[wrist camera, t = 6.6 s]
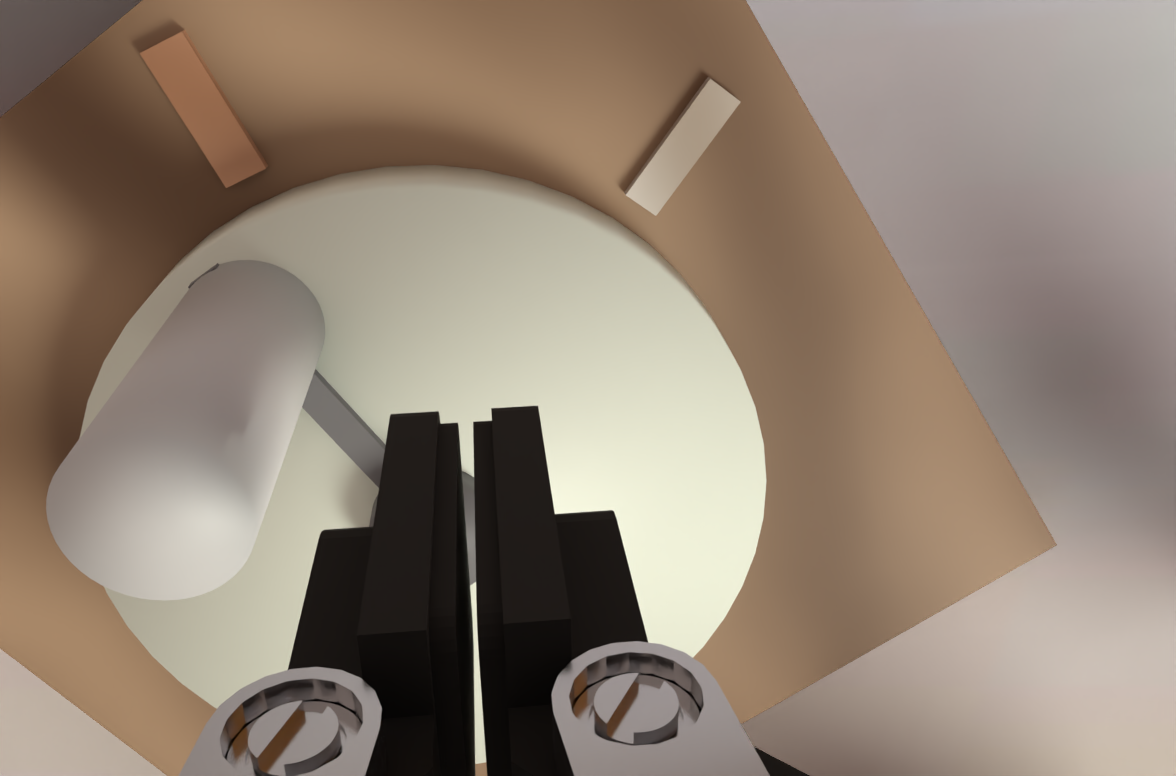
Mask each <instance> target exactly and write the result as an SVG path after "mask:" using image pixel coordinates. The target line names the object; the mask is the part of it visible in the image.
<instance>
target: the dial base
mask: <svg viewBox="0 0 1176 776" xmlns="http://www.w3.org/2000/svg"><path fill="white" fill-rule="evenodd" d="M418 165H440V166H450V167H460V168H471V169H481V170H486V171H491V172H495V173H499V174H504V175H508V176H512V177H517V178H521V179H525V180H529V181H532V182H535V183H537V184H540V185H543V186H546V187H548V188H551V189H554V190H556V191H559V192H562V193H564V194H567V195H570V196H572V197H574V198H576V199H578V200H580V201H582V202H584V203H586V204H588V205H589V206H591V207H593V208H595V209H597V210H599V211H601V212H603V213H605V214H606V215H608V216H610V217H612V218H614V219H615V220H616V221H618V222H619V223H621V224H622V225H623V226H625V227H626V228H628V229H629V230H630V231H632V232H633V233H635V234H636V235H637V236H639V237H640V238H642V239H643V240H644V241H646V242H647V243H648V244H649V245H651V246H652V247H653V248H654V249H655V250H656V251H657V252H658V253H659V254H660V255H661V256H662V257H663V258H664V259H665V260H666V261H667V262H668V263H670V264H671V265H672V266H673V267H674V268H675V269H676V270H677V271H678V272H679V273H680V274H681V276H682V277H683V278H684V280H685V281H686V282H687V283H688V285H689V286H690V287H691V288H692V290H693V291H694V292H695V293H696V295H697V296H698V297H699V298H700V300H701V301H702V302H703V303H704V305H705V307H706V308H707V310H708V312H709V314H710V315H711V317H712V319H713V320H714V322H715V324H716V326H717V327H718V329H719V331H720V333H721V334H722V336H723V338H724V340H725V341H726V343H727V345H728V347H729V349H730V351H731V353H732V354H733V356H734V358H735V360H736V362H737V364H738V366H739V368H740V369H741V372H742V374H743V377H744V379H745V382H746V384H747V387H748V389H749V392H750V395H751V397H752V400H753V402H754V405H755V407H756V412H757V416H758V421H759V425H760V430H761V434H762V438H763V443H764V454H765V468H766V493H765V506H764V518H763V522H762V526H761V531H760V535H759V539H758V544H757V548H756V552H755V555H754V558H753V560H752V563H751V565H750V568H749V571H748V573H747V576H746V578H745V581H744V583H743V586H742V588H741V590H740V591H739V593H738V595H737V597H736V599H735V600H734V602H733V604H732V606H731V608H730V609H729V611H728V613H727V615H726V617H725V618H724V620H723V621H722V622H721V624H720V625H719V626H718V628H717V629H716V630H715V632H714V633H713V634H712V636H711V637H710V638H709V640H708V641H707V642H706V644H705V645H704V647H703V648H702V649H701V650H700V651H699V652H698V653H697V654H696V655H695V656H694V657H693V658H694V659H695V660H697V661H698V662H700V663H702V664H703V665H704V666H705V667H706V669H707V670H708V671H709V672H710V673H711V675H712V676H713V677H714V678H715V679H716V681H717V683H718V684H719V686H720V688H721V690H722V691H723V693H724V695H725V697H726V699H727V700H728V702H729V704H730V706H731V707H732V709H733V711H734V713H735V715H736V716H737V718H738V720H739V722H740V723H741V724H742V723H744V722H746V721H748V720H749V719H751V718H753V717H755V716H756V715H758V714H760V713H762V712H764V711H765V710H767V709H769V708H771V707H772V706H774V705H776V704H778V703H779V702H781V701H783V700H785V699H786V698H788V697H790V696H792V695H793V694H795V693H797V692H799V691H801V690H802V689H804V688H806V687H808V686H809V685H811V684H813V683H815V682H816V681H818V680H820V679H822V678H823V677H825V676H827V675H829V674H830V673H832V672H834V671H836V670H838V669H839V668H841V667H843V666H845V665H846V664H848V663H850V662H852V661H853V660H855V659H857V658H859V657H860V656H862V655H864V654H866V653H867V652H869V651H871V650H873V649H875V648H876V647H878V646H880V645H882V644H883V643H885V642H887V641H889V640H890V639H892V638H894V637H896V636H897V635H899V634H901V633H903V632H905V631H906V630H908V629H910V628H912V627H913V626H915V625H917V624H919V623H920V622H922V621H924V620H926V619H927V618H929V617H931V616H933V615H934V614H936V613H938V612H940V611H942V610H943V609H945V608H947V607H949V606H950V605H952V604H954V603H956V602H957V601H959V600H961V599H963V598H964V597H966V596H968V595H970V594H971V593H973V592H975V591H977V590H979V589H980V588H982V587H984V586H986V585H987V584H989V583H991V582H993V581H994V580H996V579H998V578H1000V577H1001V576H1003V575H1005V574H1007V573H1008V572H1010V571H1012V570H1014V569H1016V568H1017V567H1019V566H1021V565H1023V564H1024V563H1026V562H1028V561H1030V560H1031V559H1033V558H1035V557H1037V556H1038V555H1040V554H1042V553H1044V552H1045V551H1047V550H1049V549H1051V548H1053V547H1054V546H1056V545H1057V544H1056V543H1055V541H1054V539H1053V537H1052V536H1051V534H1050V532H1049V530H1048V529H1047V527H1046V525H1045V523H1044V522H1043V520H1042V518H1041V516H1040V515H1039V513H1038V511H1037V509H1036V508H1035V506H1034V504H1033V502H1032V501H1031V499H1030V497H1029V495H1028V494H1027V492H1026V490H1025V488H1024V487H1023V485H1022V483H1021V481H1020V480H1019V478H1018V476H1017V474H1016V473H1015V471H1014V469H1013V467H1012V466H1011V464H1010V462H1009V460H1008V459H1007V457H1006V455H1005V453H1004V452H1003V450H1002V448H1001V446H1000V445H999V443H998V441H997V439H996V438H995V436H994V434H993V432H992V431H991V429H990V427H989V425H988V424H987V422H986V420H985V418H984V417H983V415H982V413H981V411H980V410H979V408H978V406H977V404H976V403H975V401H974V399H973V397H972V396H971V394H970V392H969V390H968V389H967V387H966V385H965V383H964V382H963V380H962V378H961V376H960V375H959V373H958V371H957V369H956V368H955V366H954V364H953V362H952V361H951V359H950V357H949V355H948V354H947V352H946V350H945V348H944V347H943V345H942V343H941V341H940V340H939V338H938V336H937V334H936V333H935V331H934V329H933V327H932V326H931V324H930V322H929V320H928V319H927V317H926V315H925V313H924V312H923V310H922V308H921V306H920V305H919V303H918V301H917V299H916V298H915V296H914V294H913V292H912V291H911V289H910V287H909V285H908V284H907V282H906V280H905V278H904V277H903V275H902V273H901V271H900V270H899V268H898V266H897V264H896V263H895V261H894V259H893V257H892V256H891V254H890V252H889V250H888V249H887V247H886V245H885V243H884V242H883V240H882V238H881V236H880V235H879V233H878V231H877V229H876V228H875V226H874V224H873V222H872V221H871V219H870V217H869V215H868V214H867V212H866V210H865V208H864V207H863V205H862V203H861V201H860V200H859V198H858V196H857V194H856V193H855V191H854V189H853V187H852V186H851V184H850V182H849V180H848V179H847V177H846V175H845V173H844V172H843V170H842V168H841V166H840V165H839V163H838V161H837V159H836V158H835V156H834V154H833V152H832V151H831V149H830V147H829V145H828V144H827V142H826V140H825V138H824V137H823V135H822V133H821V131H820V130H819V128H818V126H817V124H816V123H815V121H814V119H813V117H812V116H811V114H810V112H809V110H808V109H807V107H806V105H805V103H804V102H803V100H802V98H801V96H800V95H799V93H798V91H797V89H796V88H795V86H794V84H793V82H792V81H791V79H790V77H789V75H788V74H787V72H786V70H785V68H784V67H783V65H782V63H781V61H780V60H779V58H778V56H777V54H776V53H775V51H774V49H773V47H772V46H771V44H770V42H769V40H768V39H767V37H766V35H765V33H764V32H763V30H762V28H761V26H760V25H759V23H758V21H757V19H756V18H755V16H754V14H753V12H752V11H751V9H750V7H749V5H748V4H747V2H746V0H142V1H141V2H140V3H139V4H137V5H136V6H135V7H134V8H132V9H131V10H130V11H129V12H128V13H126V14H125V15H124V16H123V17H122V18H120V19H119V20H118V21H117V22H115V23H114V24H113V25H112V26H111V27H109V28H108V29H107V30H106V31H105V32H103V33H102V34H101V35H100V36H98V37H97V38H96V39H95V40H94V41H92V42H91V43H90V44H89V45H88V46H86V47H85V48H84V49H83V50H81V51H80V52H79V53H78V54H77V55H75V56H74V57H73V58H72V59H71V60H69V61H68V62H67V63H66V64H64V65H63V66H62V67H61V68H60V69H58V70H57V71H56V72H55V73H54V74H52V75H51V76H50V77H49V78H47V79H46V80H45V81H44V82H43V83H41V84H40V85H39V86H38V87H37V88H35V89H34V90H33V91H32V92H30V93H29V94H28V95H27V96H26V97H24V98H23V99H22V100H21V101H20V102H18V103H17V104H16V105H15V106H13V107H12V108H11V109H10V110H9V111H7V112H6V113H5V114H4V115H3V116H1V117H0V649H2V650H3V651H4V652H6V653H7V654H8V655H10V656H11V657H12V658H14V659H15V660H16V661H17V662H19V663H20V664H21V665H23V666H24V667H25V668H27V669H28V670H29V671H31V672H32V673H33V674H35V675H36V676H37V677H38V678H40V679H41V680H42V681H44V682H45V683H46V684H48V685H49V686H50V687H52V688H53V689H54V690H56V691H57V692H58V693H59V694H61V695H62V696H63V697H65V698H66V699H67V700H69V701H70V702H71V703H73V704H74V705H75V706H77V707H78V708H79V709H80V710H82V711H83V712H84V713H86V714H87V715H88V716H90V717H91V718H92V719H94V720H95V721H96V722H98V723H99V724H100V725H101V726H103V727H104V728H105V729H107V730H108V731H109V732H111V733H112V734H113V735H115V736H116V737H117V738H119V739H120V740H121V741H122V742H124V743H125V744H126V745H128V746H129V747H130V748H132V749H133V750H134V751H136V752H137V753H138V754H140V755H141V756H142V757H143V758H145V759H146V760H147V761H149V762H150V763H151V764H153V765H154V766H155V767H157V768H158V769H159V770H161V771H162V772H163V773H164V774H166V775H167V776H179V774H180V772H181V770H182V768H183V766H184V764H185V763H186V761H187V759H188V757H189V755H190V753H191V751H192V749H193V747H194V746H195V744H196V742H197V740H198V738H199V736H200V734H201V732H202V730H203V729H204V727H205V725H206V723H207V722H208V721H209V719H210V718H211V717H212V715H213V714H214V713H215V711H216V710H217V708H215V707H213V706H212V705H210V704H209V703H208V702H206V701H205V700H203V699H202V698H201V697H199V696H198V695H197V694H195V693H194V692H192V691H191V690H190V689H188V688H187V687H186V686H184V685H183V684H182V683H180V682H179V681H178V680H177V679H176V678H175V677H174V676H173V675H172V674H171V673H170V672H169V671H168V670H166V669H165V668H164V667H163V666H162V665H161V664H160V663H159V662H158V661H157V660H156V659H155V658H154V657H153V656H152V655H151V654H150V653H149V652H148V650H147V649H146V648H145V647H144V646H143V644H142V643H141V642H140V641H139V640H138V638H137V637H136V636H135V635H134V634H133V632H132V631H131V630H130V629H129V628H128V626H127V625H126V623H125V622H124V620H123V618H122V617H121V615H120V614H119V612H118V610H117V609H116V607H115V606H114V604H113V602H112V601H111V599H110V598H109V596H108V594H107V593H106V590H105V588H104V586H102V585H100V584H99V583H97V582H95V581H94V580H92V579H90V578H89V577H88V576H86V575H85V574H84V573H82V572H81V571H80V570H78V569H77V568H76V567H75V566H74V565H73V564H72V563H71V562H70V561H69V560H68V558H67V557H66V556H65V555H64V554H63V552H62V551H61V549H60V548H59V546H58V545H57V543H56V541H55V539H54V537H53V535H52V533H51V530H50V527H49V523H48V520H47V512H46V499H47V493H48V489H49V485H50V483H51V480H52V478H53V476H54V474H55V472H56V471H57V469H58V468H59V466H60V465H61V463H62V462H63V461H64V459H65V458H66V456H67V455H68V454H69V452H70V451H71V450H72V448H73V447H74V446H75V444H76V443H77V441H78V440H79V438H80V434H81V429H82V425H83V420H84V416H85V411H86V407H87V402H88V399H89V397H90V394H91V392H92V389H93V387H94V384H95V382H96V379H97V377H98V374H99V372H100V369H101V367H102V365H103V362H104V360H105V359H106V357H107V355H108V354H109V352H110V351H111V349H112V347H113V346H114V344H115V342H116V341H117V339H118V337H119V336H120V334H121V332H122V331H123V329H124V328H125V326H126V324H127V323H128V322H129V321H130V319H131V318H132V317H133V316H134V315H135V313H136V312H137V311H138V310H139V308H140V307H141V306H142V305H143V304H144V302H145V301H146V300H147V299H148V297H149V296H150V295H151V294H152V293H153V291H154V290H155V289H156V288H157V287H158V285H159V284H160V283H161V282H162V281H163V280H164V278H165V277H166V276H167V275H168V274H169V272H170V271H171V270H172V269H173V268H174V267H175V265H176V264H177V263H178V262H179V261H180V260H181V259H182V258H183V257H184V256H186V255H187V254H188V253H189V252H190V251H191V250H192V249H194V248H195V247H196V246H197V245H198V244H199V243H200V242H202V241H203V240H204V239H205V238H206V237H207V236H209V235H210V234H211V233H212V232H213V231H215V230H216V229H218V228H220V227H221V226H223V225H224V224H226V223H227V222H229V221H230V220H232V219H234V218H235V217H237V216H238V215H240V214H241V213H243V212H244V211H246V210H248V209H249V208H251V207H253V206H255V205H257V204H259V203H262V202H264V201H266V200H268V199H270V198H272V197H275V196H277V195H279V194H281V193H283V192H286V191H288V190H290V189H292V188H295V187H298V186H301V185H305V184H308V183H311V182H315V181H318V180H321V179H325V178H328V177H331V176H335V175H338V174H343V173H349V172H355V171H362V170H368V169H374V168H380V167H386V166H418ZM475 776H487V766H486V762H485V763H479V764H475Z"/></svg>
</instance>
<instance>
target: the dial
mask: <svg viewBox="0 0 1176 776" xmlns="http://www.w3.org/2000/svg"><path fill="white" fill-rule="evenodd" d="M522 406H538V408H539V415H540V421H541V428H542V434H543V441H544V447H545V454H546V460H547V467H548V473H549V480H550V486H551V493H552V499H553V506H554V512H555V514H563V513H577V512H592V511H607V510H613V511H614V513H615V516H616V518H617V522H618V526H619V530H620V534H621V538H622V542H623V546H624V550H625V554H626V557H627V561H628V565H629V569H630V573H631V577H632V581H633V585H634V589H635V592H636V596H637V600H638V604H639V608H640V612H641V616H642V620H643V624H644V628H645V631H646V635H647V639H648V643H656V644H662V645H665V646H668V647H671V648H674V649H677V650H679V651H682V652H685V653H686V654H688V655H689V656H691V657H692V658H693V657H694V656H695V655H696V654H697V653H698V652H699V651H700V650H701V649H702V648H703V647H704V645H705V644H706V642H707V641H708V640H709V638H710V637H711V636H712V634H713V633H714V632H715V630H716V629H717V628H718V626H719V625H720V624H721V622H722V621H723V620H724V618H725V617H726V615H727V613H728V611H729V609H730V608H731V606H732V604H733V602H734V600H735V599H736V597H737V595H738V593H739V591H740V590H741V588H742V586H743V583H744V581H745V578H746V576H747V573H748V571H749V568H750V565H751V563H752V560H753V558H754V555H755V552H756V548H757V544H758V539H759V535H760V531H761V526H762V522H763V518H764V506H765V493H766V468H765V454H764V443H763V438H762V434H761V430H760V425H759V421H758V416H757V412H756V407H755V405H754V402H753V400H752V397H751V395H750V392H749V389H748V387H747V384H746V382H745V379H744V377H743V374H742V372H741V369H740V368H739V366H738V364H737V362H736V360H735V358H734V356H733V354H732V353H731V351H730V349H729V347H728V345H727V343H726V341H725V340H724V338H723V336H722V334H721V333H720V331H719V329H718V327H717V326H716V324H715V322H714V320H713V319H712V317H711V315H710V314H709V312H708V310H707V308H706V307H705V305H704V303H703V302H702V301H701V300H700V298H699V297H698V296H697V295H696V293H695V292H694V291H693V290H692V288H691V287H690V286H689V285H688V283H687V282H686V281H685V280H684V278H683V277H682V276H681V274H680V273H679V272H678V271H677V270H676V269H675V268H674V267H673V266H672V265H671V264H670V263H668V262H667V261H666V260H665V259H664V258H663V257H662V256H661V255H660V254H659V253H658V252H657V251H656V250H655V249H654V248H653V247H652V246H651V245H649V244H648V243H647V242H646V241H644V240H643V239H642V238H640V237H639V236H637V235H636V234H635V233H633V232H632V231H630V230H629V229H628V228H626V227H625V226H623V225H622V224H621V223H619V222H618V221H616V220H615V219H614V218H612V217H610V216H608V215H606V214H605V213H603V212H601V211H599V210H597V209H595V208H593V207H591V206H589V205H588V204H586V203H584V202H582V201H580V200H578V199H576V198H574V197H572V196H570V195H567V194H564V193H562V192H559V191H556V190H554V189H551V188H548V187H546V186H543V185H540V184H537V183H535V182H532V181H529V180H525V179H521V178H517V177H512V176H508V175H504V174H499V173H495V172H491V171H486V170H481V169H471V168H460V167H450V166H440V165H418V166H386V167H380V168H374V169H368V170H362V171H355V172H349V173H343V174H338V175H335V176H331V177H328V178H325V179H321V180H318V181H315V182H311V183H308V184H305V185H301V186H298V187H295V188H292V189H290V190H288V191H286V192H283V193H281V194H279V195H277V196H275V197H272V198H270V199H268V200H266V201H264V202H262V203H259V204H257V205H255V206H253V207H251V208H249V209H248V210H246V211H244V212H243V213H241V214H240V215H238V216H237V217H235V218H234V219H232V220H230V221H229V222H227V223H226V224H224V225H223V226H221V227H220V228H218V229H216V230H215V231H213V232H212V233H211V234H210V235H209V236H207V237H206V238H205V239H204V240H203V241H202V242H200V243H199V244H198V245H197V246H196V247H195V248H194V249H192V250H191V251H190V252H189V253H188V254H187V255H186V256H184V257H183V258H182V259H181V260H180V261H179V262H178V263H177V264H176V265H175V267H174V268H173V269H172V270H171V271H170V272H169V274H168V275H167V276H166V277H165V278H164V280H163V281H162V282H161V283H160V284H159V285H158V287H157V288H156V289H155V290H154V291H153V293H152V294H151V295H150V296H149V297H148V299H147V300H146V301H145V302H144V304H143V305H142V306H141V307H140V308H139V310H138V311H137V312H136V313H135V315H134V316H133V317H132V318H131V319H130V321H129V322H128V323H127V324H126V326H125V328H124V329H123V331H122V332H121V334H120V336H119V337H118V339H117V341H116V342H115V344H114V346H113V347H112V349H111V351H110V352H109V354H108V355H107V357H106V359H105V360H104V362H103V365H102V367H101V369H100V372H99V374H98V377H97V379H96V382H95V384H94V387H93V389H92V392H91V394H90V397H89V399H88V402H87V407H86V411H85V416H84V420H83V425H82V429H81V434H80V438H79V440H78V441H77V443H76V444H75V446H74V447H73V448H72V450H71V451H70V452H69V454H68V455H67V456H66V458H65V459H64V461H63V462H62V463H61V465H60V466H59V468H58V469H57V471H56V472H55V474H54V476H53V478H52V480H51V483H50V485H49V489H48V493H47V499H46V512H47V520H48V523H49V527H50V530H51V533H52V535H53V537H54V539H55V541H56V543H57V545H58V546H59V548H60V549H61V551H62V552H63V554H64V555H65V556H66V557H67V558H68V560H69V561H70V562H71V563H72V564H73V565H74V566H75V567H76V568H77V569H78V570H80V571H81V572H82V573H84V574H85V575H86V576H88V577H89V578H90V579H92V580H94V581H95V582H97V583H99V584H100V585H102V586H104V588H105V590H106V593H107V594H108V596H109V598H110V599H111V601H112V602H113V604H114V606H115V607H116V609H117V610H118V612H119V614H120V615H121V617H122V618H123V620H124V622H125V623H126V625H127V626H128V628H129V629H130V630H131V631H132V632H133V634H134V635H135V636H136V637H137V638H138V640H139V641H140V642H141V643H142V644H143V646H144V647H145V648H146V649H147V650H148V652H149V653H150V654H151V655H152V656H153V657H154V658H155V659H156V660H157V661H158V662H159V663H160V664H161V665H162V666H163V667H164V668H165V669H166V670H168V671H169V672H170V673H171V674H172V675H173V676H174V677H175V678H176V679H177V680H178V681H179V682H180V683H182V684H183V685H184V686H186V687H187V688H188V689H190V690H191V691H192V692H194V693H195V694H197V695H198V696H199V697H201V698H202V699H203V700H205V701H206V702H208V703H209V704H210V705H212V706H213V707H215V708H218V707H219V706H220V705H221V704H222V703H223V702H224V701H226V700H227V699H228V698H230V697H231V696H232V695H233V694H235V693H236V692H237V691H238V690H240V689H241V688H243V687H245V686H247V685H249V684H251V683H253V682H255V681H257V680H259V679H261V678H263V677H265V676H268V675H272V674H276V673H279V672H283V671H286V670H288V666H289V662H290V658H291V654H292V649H293V645H294V641H295V637H296V632H297V628H298V624H299V620H300V616H301V611H302V607H303V603H304V599H305V594H306V590H307V586H308V582H309V577H310V573H311V569H312V565H313V560H314V556H315V552H316V548H317V543H318V539H319V536H320V534H321V531H323V530H327V529H342V528H357V527H371V526H373V525H374V518H375V512H376V505H377V498H378V492H379V485H380V479H381V472H382V465H383V459H384V452H385V445H386V439H387V432H388V425H389V419H390V414H401V413H418V412H435V411H439V415H440V424H443V423H458V426H459V438H460V452H461V466H462V480H463V494H464V508H465V522H466V536H467V549H468V563H469V577H470V591H471V605H472V620H473V642H474V710H475V764H479V763H485V762H486V752H485V737H484V723H483V709H482V694H481V680H480V665H479V650H478V631H477V604H476V550H475V497H474V443H473V422H477V421H492V413H491V408H505V407H522Z"/></svg>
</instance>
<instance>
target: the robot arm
mask: <svg viewBox="0 0 1176 776" xmlns="http://www.w3.org/2000/svg"><path fill="white" fill-rule="evenodd" d="M491 413H492V421H477V422H473V443H474V497H475V550H476V604H477V631H478V650H479V665H480V680H481V694H482V709H483V723H484V737H485V752H486V766H487V776H809V775H807V774H805V773H803V772H801V771H799V770H797V769H795V768H794V767H792V766H790V765H788V764H786V763H784V762H782V761H780V760H778V759H776V758H774V757H772V756H770V755H769V754H767V753H765V752H763V751H761V750H759V749H757V748H755V747H753V745H752V743H751V741H750V739H749V738H748V736H747V734H746V732H745V731H744V729H743V727H742V725H741V723H740V722H739V720H738V718H737V716H736V715H735V713H734V711H733V709H732V707H731V706H730V704H729V702H728V700H727V699H726V697H725V695H724V693H723V691H722V690H721V688H720V686H719V684H718V683H717V681H716V679H715V678H714V677H713V676H712V675H711V673H710V672H709V671H708V670H707V669H706V667H705V666H704V665H703V664H702V663H700V662H698V661H697V660H695V659H694V658H692V657H691V656H689V655H688V654H686V653H685V652H682V651H679V650H677V649H674V648H671V647H668V646H665V645H662V644H656V643H648V639H647V635H646V631H645V628H644V624H643V620H642V616H641V612H640V608H639V604H638V600H637V596H636V592H635V589H634V585H633V581H632V577H631V573H630V569H629V565H628V561H627V557H626V554H625V550H624V546H623V542H622V538H621V534H620V530H619V526H618V522H617V518H616V516H615V513H614V511H613V510H607V511H592V512H577V513H563V514H555V512H554V506H553V499H552V493H551V486H550V480H549V473H548V467H547V460H546V454H545V447H544V441H543V434H542V428H541V421H540V415H539V408H538V406H522V407H505V408H491ZM179 776H475V710H474V642H473V620H472V605H471V591H470V577H469V563H468V549H467V536H466V522H465V508H464V494H463V480H462V466H461V452H460V438H459V426H458V423H443V424H440V415H439V411H435V412H418V413H401V414H390V419H389V425H388V432H387V439H386V445H385V452H384V459H383V465H382V472H381V479H380V485H379V492H378V498H377V505H376V512H375V518H374V525H373V526H371V527H357V528H342V529H327V530H323V531H321V534H320V536H319V539H318V543H317V548H316V552H315V556H314V560H313V565H312V569H311V573H310V577H309V582H308V586H307V590H306V594H305V599H304V603H303V607H302V611H301V616H300V620H299V624H298V628H297V632H296V637H295V641H294V645H293V649H292V654H291V658H290V662H289V666H288V670H286V671H283V672H279V673H276V674H272V675H268V676H265V677H263V678H261V679H259V680H257V681H255V682H253V683H251V684H249V685H247V686H245V687H243V688H241V689H240V690H238V691H237V692H236V693H235V694H233V695H232V696H231V697H230V698H228V699H227V700H226V701H224V702H223V703H222V704H221V705H220V706H219V707H218V708H217V710H216V711H215V713H214V714H213V715H212V717H211V718H210V719H209V721H208V722H207V723H206V725H205V727H204V729H203V730H202V732H201V734H200V736H199V738H198V740H197V742H196V744H195V746H194V747H193V749H192V751H191V753H190V755H189V757H188V759H187V761H186V763H185V764H184V766H183V768H182V770H181V772H180V774H179Z"/></svg>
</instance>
